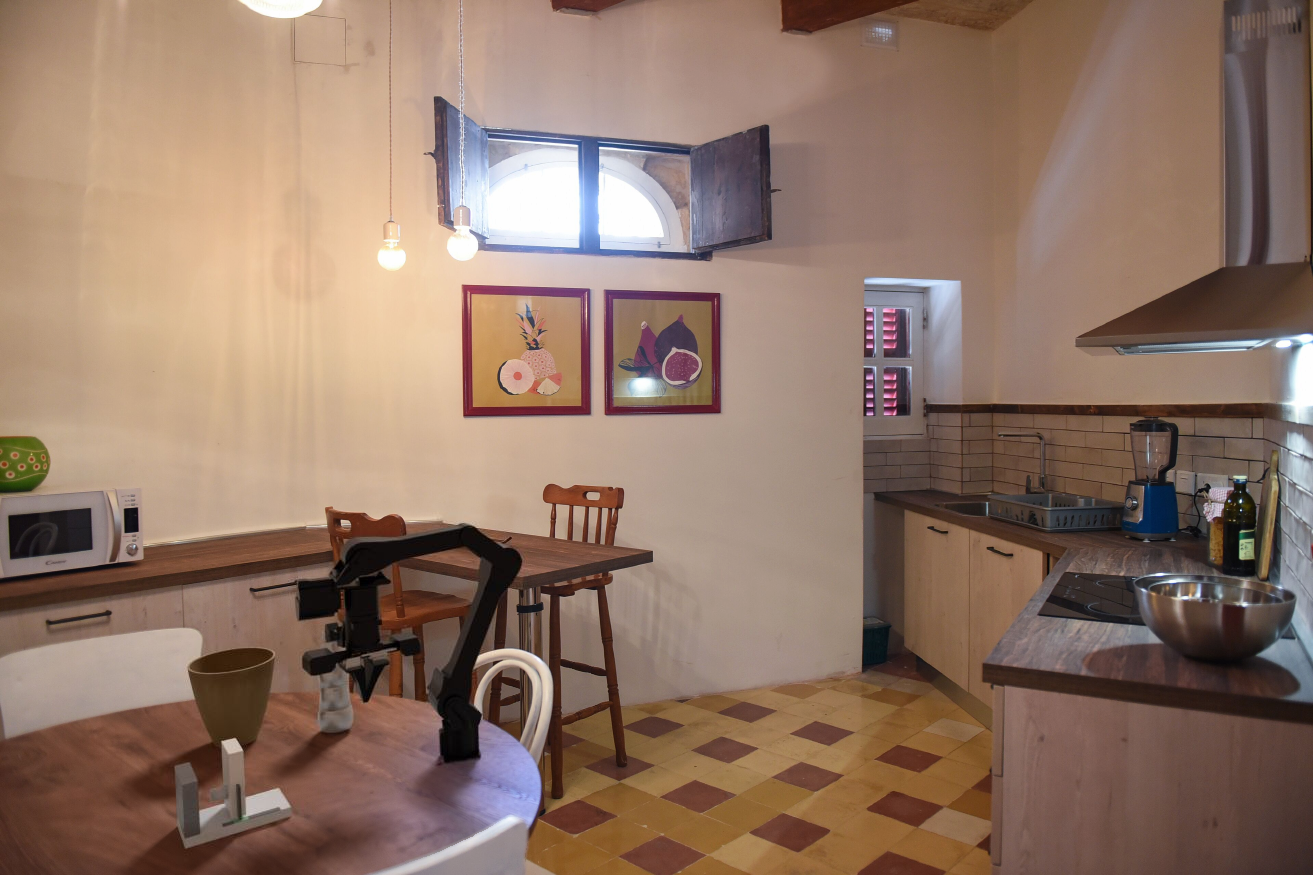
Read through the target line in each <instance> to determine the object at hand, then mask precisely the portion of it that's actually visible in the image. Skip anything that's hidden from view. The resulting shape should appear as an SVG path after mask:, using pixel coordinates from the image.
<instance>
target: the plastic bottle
mask: <svg viewBox="0 0 1313 875" xmlns="http://www.w3.org/2000/svg"><path fill="white" fill-rule="evenodd" d="M321 642H322V644H321V646H320V647H319V648H318V649H322V648H328V649H329V650H330V651H331V652H333V653H334V652H339V651H344V650H346V649H345V648H342V647H338V646H337V641H335V642H329V643H327V642H326V638H325V629H323V630H322V632H321ZM317 679H318V686H319V687H318V688H319V689H318V690H319V699H318V700H319V701H318V702H319V705H318V712H317V725H318V728H319V729H320V731H321V732H323V733H325V734H337V733H342V732H344V731H347V730H349V729H350V728H351V726H352V725H353V722H354V715H355V714H354V709H353V706H352V703H351V701H352V700H351V695H350V674H349V673H346V672H345V671H343V670H342V669H341V668H340V667H339V666H338V663H337V664H336V667H335V669H334V670H333V671H332V672H331V673H326V674H322V675H317Z"/></svg>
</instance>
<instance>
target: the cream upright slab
mask: <svg viewBox="0 0 1313 875" xmlns="http://www.w3.org/2000/svg"><path fill="white" fill-rule="evenodd" d="M221 744H222V748H221V763H222V782H223V784H222V785H221V786H220V785H219V786H217V787H214V788H210V789H209V798H210V803H211V804H212V803H213V804H214V803H217V802H220V801H223V804H225V806H226V808H227V810H228V813H229V815H230V817H231V819H233V818H237V817H238V819H239V820H241V819H242V816H244V815H246V800H245V797H246V783H245V764H244V763H245V760H244V757H245V756H244V750H243V748H242V746H240V744H239V743H238V741H237V740H236V738H233V739H229V740H225V741H221Z"/></svg>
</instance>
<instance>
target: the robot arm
mask: <svg viewBox="0 0 1313 875" xmlns="http://www.w3.org/2000/svg"><path fill="white" fill-rule="evenodd" d="M462 548H466V549H467V550H468V551H469V552H470V553H472V554H474V555H475V556H476V557H478V558H479V559H480V561H479V565H478V572H477V574H478V575H477V589H476V592H475V594H474V597H473V600H472V602H471V604H470V607H469V609H468V612H467V615H466V618H465V621H464V623H463V625H462V628H461V630H460V633H459V635H458V638H457V640H456V644H455V646H454V649H453V651H452V654H451V657H450V659H449V661H448V662H447V664H446V665H445V666H444V667H443V668H442V669H440V668H439V667H434V669H433V672H432V676H431V680H430V682H429V684H427V686H426V690H427V691H428V692H427V699H428V701H429V704H430V706H431V707H432V709H433V710H434V711H435V712H436V713H437V714H438V715H439V717H440V718H442V719H441V728H439V729H438V748H439V749H438V750H439V756H441V757H442V758H443V763H444V764H447V763H454V762H461V761H466V760H472V759H478V758H481V757H482V752H481V750H480V739H479V738H480V735H479V732H480V731H479V728H480V727H479V726H480V724H481V721H482V718H483V713H482V712H481V710H479V709H478V708H477V707H476V706H475V705H474V704H473V703H472V702H471V696H472V691H473V676H474V673H473V672H474V669H475V666H476V663H477V661H478V658H479V656H480V653H481V651H482V647H483V645H484V643H485V639H486V638H487V637H486V636H487V634H488V632H489V629H490V626H491V624H492V622H493V619H494V616H495V613H496V611H497V608H498V605H499V602H500V600H501V598H502V596H503V595H504V594H505V593H506V591H507V590H508V589H509V588H510V587H511V586H512V585H513V584H514V582H515V580H516V578H517V576H518V575H519V573H520V571H521V570H522V565H523V558H522V556H521V554H520V552H519V551H518V550H517V549H515V548H514V547H511V546H509V545H506V544H505V543H502V542H496V541H495V540H493V539H491V538H490V537H488V536H487V535H486V534H484V533H483V532H481V531H480V530H479V529H478V528H477V527H476V526H474V525H472V524H470V523H467V522H460V523H458V524H457V525H452V526H446V527H441V528H437V529H431V530H426V531H420V532H416V533H409V534H405V535H401V536H395V537H393V536H391V537H390V536H389V537H388V536H386V537H385V536H356V537H353V538H352V537H351V538H349V539H348V540H346V541H345V543H343V545H342V546H341V549H340V552H339V559H338V560H337V562H336V563H335V565H334V566H333V568H332V569H331V570H330V571H329V573H328V576H325V577H316V578H298V579H296V589H295V596H294V602H295V603H294V606H295V607H294V608H295V615H296V616H295V617H296V620H297V622H305V621H311V620H319V619H325V618H332V617H335V615H336V613H339V610H341V609H342V592H341V591H343V610H344V611H343V615H344V616H343V617H342V625H340V626H339V623H338V622H336V621H335V622H331V623H325V624H324V630H325V638H326V642H327V643H329V642H335V641H337V646H338V647H342V648H345V649H346V650H344V651H339V652H334V653H333V652H331V651H330V650H329V649H328V648H322V649H319V648H317V649H313V650H306V651H305V652H304V653H303V655H302V657H301V668H302V669H303V670H304V671H305V672H306V673H307V674H308V676H310V677H311V676H313V677H316V676H317V677H318V675H322V674H326V673H331V672H332V671H333V670H334V669H335V667H336V664H337V663H338V666H339V667H340V668H341V669H342V670H343V671H345V672H346V673H349V676H350V677H351V679H352V681H353V683H354V685H355V688H356V690H357V693H358V696H359V697H360V701H361V702H362V703H363V704H367V703H369V701H370V699H371V697H372V695H373V694H372V693H373V692H374V689H375V687H376V684H377V682H378V680H379V678H380V676H381V674H382V672H383V670H384V668H385V667H386V666H389V665H391V662H390V660H389V659H388V654H390V653H395V652H400V654H402V655H403V656H404V657H411V656H416V655H420V654H422V653H423V643H422V640H421V638H419V636H417V635H415V634H413V633H412V632H410V631H406V632H400V633H395V634H390V635H389V638H388V641H385V642H382V640H381V636H382V635H381V626H383V619H382V618H381V615H380V614H381V612H380V611H381V608H380V586H385V585H390V584H392V580H391V579H390V578H389V577H388V576H386V575H385V574H384V572H383V571H382V570H385V569H386V568H389V567H390V566H392V565H394V564H396V563H398V562H400V561H403V560H408V559H414V558H418V557H423V556H429V555H431V554H438V553H441V552H443V553H444V552H446V551H452V550H457V549H462ZM361 659H362V660H361ZM362 661H363V664H362Z"/></svg>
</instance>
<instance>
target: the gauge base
mask: <svg viewBox="0 0 1313 875" xmlns="http://www.w3.org/2000/svg"><path fill="white" fill-rule="evenodd" d="M245 800H246V815H244V816H242V819H241V820H239V819H238V817H237V818H233V819H231V817H230V815H229V813H228V810H227V808H226V806H225V804H224V803H221V804H218V805H214V806H211V807H207V808H203V809H199V816H200V834H199V835H196V836H192V837H189V838H186V839H185V838H184V835H183V832H182V829H181V826H180V824H179V821H178V818H176V820H177V822H176V823H177V829H178V832H179V834H180V837H181V840H182V843H183V847H184V849H185V850H186V849H190V848H192V847H196V846H199V845H202V844H204V843H208V842H212V841H215V840H219V839H222V838H225V837H228V836H231V835H235V834H238V833H241V832H245V831H247V830H251V829H254V828H258V827H261V826H264V825H268V824H271V823H274V822H278V821H281V820H283V819H287V818H290V817H292V807H291V804H290V803H289V801H288V800H287V798H286V797H285V795H284V794H283V792H282V791H281V789H280V787H277V788H273V789H270V790H267V791H263V792H260V793H256V794H252V795H249V796H245Z"/></svg>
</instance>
